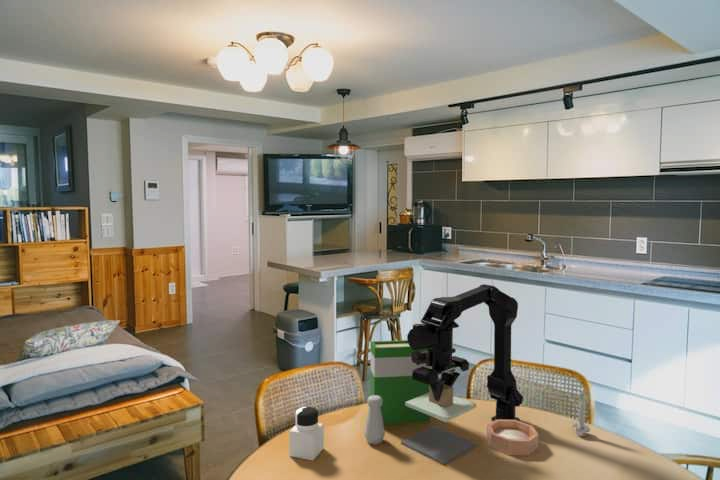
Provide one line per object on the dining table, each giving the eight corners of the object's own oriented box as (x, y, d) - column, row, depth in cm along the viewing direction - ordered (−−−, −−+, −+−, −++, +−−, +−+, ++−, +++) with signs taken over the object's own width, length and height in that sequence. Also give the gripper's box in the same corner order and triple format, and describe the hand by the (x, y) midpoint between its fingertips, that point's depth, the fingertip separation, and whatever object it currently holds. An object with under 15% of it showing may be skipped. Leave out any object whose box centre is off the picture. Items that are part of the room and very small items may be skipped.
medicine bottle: (324, 448, 134) (324, 406, 133) (313, 461, 127) (313, 417, 126) (300, 444, 136) (300, 402, 135) (288, 456, 129) (288, 412, 128)
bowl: (503, 428, 147) (503, 415, 146) (544, 444, 137) (545, 430, 137) (479, 442, 138) (479, 428, 137) (521, 460, 128) (521, 445, 128)
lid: (436, 392, 145) (436, 373, 145) (476, 407, 135) (477, 386, 135) (405, 405, 136) (405, 384, 135) (445, 422, 125) (446, 399, 125)
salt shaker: (382, 447, 135) (383, 401, 134) (362, 445, 136) (363, 400, 135) (386, 437, 140) (386, 393, 139) (366, 435, 141) (367, 392, 140)
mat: (434, 427, 147) (434, 425, 147) (476, 445, 136) (476, 443, 136) (400, 443, 137) (400, 441, 137) (443, 464, 126) (443, 462, 126)
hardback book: (423, 411, 158) (424, 339, 156) (429, 421, 151) (431, 346, 149) (370, 414, 155) (370, 341, 154) (374, 425, 148) (374, 348, 146)
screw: (593, 436, 142) (581, 439, 140) (580, 429, 146) (568, 432, 144) (595, 393, 141) (583, 396, 139) (582, 387, 145) (569, 389, 143)
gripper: (439, 332, 146) (438, 383, 147) (397, 344, 134) (396, 399, 135) (470, 340, 138) (469, 394, 139) (429, 353, 125) (428, 412, 127)
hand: (440, 399), depth 135 cm, fingers closed on lid, 3 cm apart
